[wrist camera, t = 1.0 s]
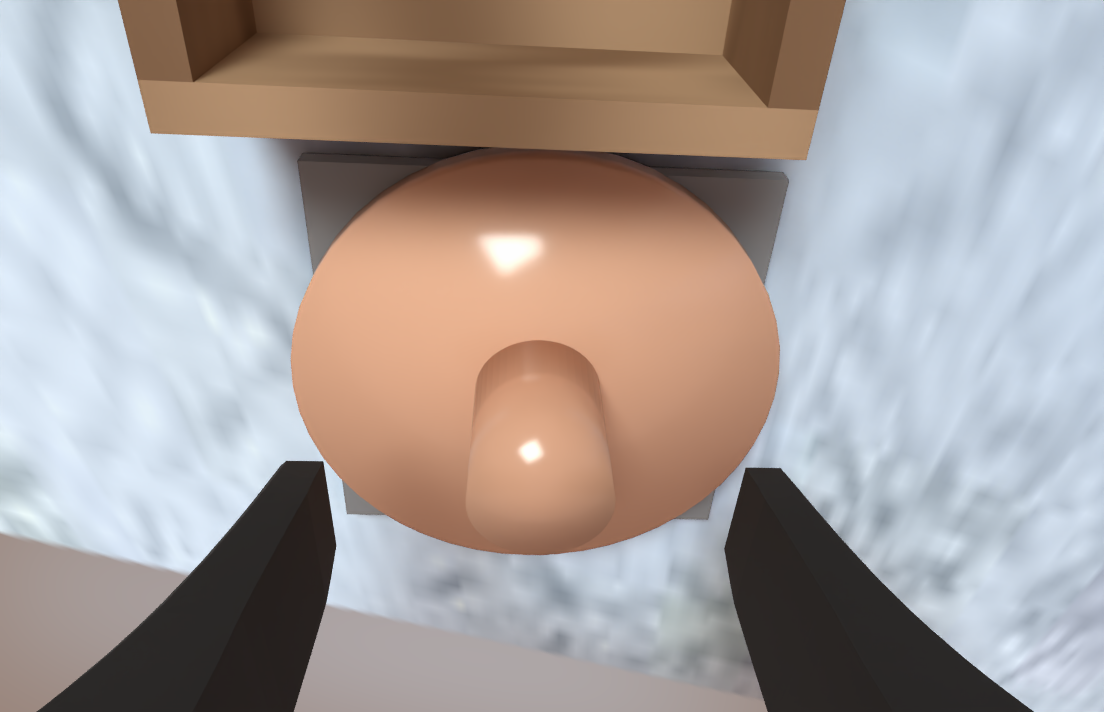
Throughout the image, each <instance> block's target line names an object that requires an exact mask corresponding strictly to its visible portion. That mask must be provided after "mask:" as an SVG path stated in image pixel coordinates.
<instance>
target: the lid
mask: <svg viewBox="0 0 1104 712" xmlns="http://www.w3.org/2000/svg"><path fill="white" fill-rule="evenodd" d="M779 355H780V345H779V338H778V330H777V323H776V318H775V315H774V312H773V308H772V305H771V302H770V299H769V295H768V293H767V291H766V289H765V287H764V285H763V283H762V281H761V279H760V277H759V275H758V273H757V271H756V269H755V267H754V265H753V263H752V261H751V259H750V258H749V256H748V254H747V252H746V250H745V249H744V247H743V246H742V244H741V243H740V242H739V240H738V239H737V237H736V236H735V235H734V233H733V232H732V230H731V229H730V228H729V226H728V225H727V224H726V223H725V222H724V221H723V220H722V219H721V218H720V217H719V216H718V215H717V214H716V213H715V212H714V211H713V210H712V209H711V208H710V207H709V206H708V205H707V204H706V203H705V202H703V201H702V200H701V199H699V198H698V197H697V196H695V195H694V194H693V193H691V192H690V191H689V190H687V189H686V188H685V187H683V186H682V185H681V184H679V183H677V182H675V181H673V180H672V179H670V178H668V177H666V176H664V175H663V174H662V173H660V172H658V171H656V170H654V169H652V168H650V167H648V166H645V165H642V164H640V163H637V162H635V161H632V160H629V159H627V158H624V157H622V156H619V155H615V154H610V153H606V152H596V151H572V150H547V149H523V148H499V147H492V148H486V149H479V150H475V151H471V152H468V153H464V154H461V155H457V156H454V157H450V158H447V159H443V160H441V161H438V162H436V163H434V164H432V165H429V166H428V167H426V168H423V169H421V170H419V171H417V172H414V173H412V174H410V175H408V176H407V177H405V178H403V179H402V180H400V181H399V182H397V183H395V184H394V185H392V186H390V187H389V188H387V189H386V190H384V191H382V192H381V193H380V194H379V195H377V196H376V197H375V198H374V199H373V200H371V201H370V202H369V203H368V204H367V205H365V206H364V207H363V208H362V209H361V210H359V211H358V212H357V213H356V214H355V215H354V216H353V217H352V219H351V220H350V221H349V222H348V223H347V224H346V225H345V226H344V228H343V229H342V230H341V231H340V232H339V233H338V234H337V235H336V237H335V238H334V240H333V242H332V243H331V245H330V246H329V248H328V249H327V251H326V252H325V254H324V256H323V257H322V259H321V260H320V262H319V264H318V266H317V269H316V271H315V273H314V275H313V277H312V279H311V282H310V284H309V286H308V288H307V291H306V293H305V295H304V298H303V300H302V302H301V305H300V307H299V311H298V315H297V319H296V323H295V327H294V331H293V338H292V351H291V369H292V380H293V388H294V392H295V396H296V400H297V404H298V408H299V412H300V414H301V416H302V419H303V421H304V423H305V426H306V428H307V430H308V433H309V435H310V437H311V438H312V440H313V442H314V443H315V445H316V447H317V448H318V450H319V451H320V453H321V455H322V456H323V458H324V459H325V460H326V461H327V463H328V464H329V465H330V466H331V468H332V469H333V470H334V471H335V472H336V474H337V475H338V476H339V477H340V478H341V479H342V480H343V481H344V482H345V483H346V484H347V485H348V486H349V487H350V488H351V489H352V490H353V491H354V492H355V493H357V494H358V495H359V496H360V497H361V498H363V499H364V500H365V501H367V502H368V503H369V504H371V505H372V506H373V507H375V508H376V509H377V510H379V511H381V512H382V513H384V514H386V515H387V516H389V517H391V518H392V519H394V520H396V521H398V522H399V523H401V524H403V525H405V526H407V527H410V528H412V529H414V530H416V531H418V532H420V533H423V534H425V535H428V536H431V537H433V538H436V539H439V540H442V541H445V542H448V543H451V544H455V545H459V546H464V547H468V548H472V549H476V550H483V551H490V552H497V553H505V554H523V555H548V554H560V553H568V552H576V551H584V550H588V549H593V548H598V547H602V546H607V545H611V544H614V543H617V542H620V541H623V540H627V539H630V538H633V537H636V536H638V535H640V534H643V533H645V532H647V531H650V530H652V529H655V528H657V527H659V526H661V525H663V524H665V523H666V522H668V521H670V520H672V519H674V518H676V517H678V516H679V515H681V514H683V513H684V512H686V511H687V510H689V509H690V508H691V507H693V506H694V505H696V504H697V503H699V502H700V501H702V500H703V499H704V498H705V497H707V496H708V495H709V494H710V493H711V492H712V491H714V490H715V489H716V488H717V487H718V486H719V485H721V484H722V483H723V482H724V480H725V479H726V478H727V477H728V476H729V475H730V474H731V473H732V472H733V471H734V470H735V469H736V467H737V466H738V465H739V464H740V463H741V461H742V460H743V458H744V457H745V456H746V454H747V453H748V451H749V450H750V449H751V447H752V446H753V444H754V443H755V441H756V439H757V437H758V435H759V433H760V431H761V429H762V428H763V426H764V424H765V422H766V419H767V416H768V414H769V411H770V408H771V405H772V402H773V400H774V396H775V391H776V385H777V380H778V375H779Z"/></svg>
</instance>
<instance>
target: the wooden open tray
mask: <svg viewBox="0 0 1104 712" xmlns="http://www.w3.org/2000/svg"><path fill="white" fill-rule="evenodd" d="M845 2H846V0H118V3H119V7H120V11H121V15H122V19H123V23H124V27H125V31H126V35H127V39H128V43H129V47H130V51H131V55H132V59H133V63H134V67H135V71H136V75H137V79H138V83H139V88H140V92H141V96H142V100H143V104H144V108H145V112H146V116H147V120H148V124H149V128H150V132H151V133H158V134H182V135H207V136H231V137H255V138H280V139H304V140H328V141H353V142H377V143H401V144H426V145H450V146H474V147H499V148H523V149H547V150H572V151H596V152H620V153H645V154H669V155H693V156H718V157H742V158H766V159H791V160H806V158H807V154H808V150H809V146H810V142H811V138H812V134H813V130H814V126H815V122H816V118H817V114H818V110H819V106H820V102H821V98H822V94H823V90H824V86H825V82H826V78H827V74H828V70H829V66H830V62H831V58H832V54H833V50H834V46H835V42H836V38H837V34H838V30H839V26H840V22H841V18H842V14H843V10H844V6H845Z"/></svg>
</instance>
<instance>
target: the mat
mask: <svg viewBox="0 0 1104 712" xmlns="http://www.w3.org/2000/svg"><path fill="white" fill-rule="evenodd" d="M441 160H443V159H437V158H412V157H387V156H362V155H337V154H312V153H302V155H301V156H300V158H299V159H298V161H297V162H298V169H299V176H300V183H301V190H302V197H303V204H304V211H305V219H306V226H307V233H308V240H309V247H310V254H311V261H312V268H313V275H314V273H315V271H316V269H317V266H318V264H319V262H320V260H321V259H322V257H323V256H324V254H325V252H326V251H327V249H328V248H329V246H330V245H331V243H332V242H333V240H334V238H335V237H336V235H337V234H338V233H339V232H340V231H341V230H342V229H343V228H344V226H345V225H346V224H347V223H348V222H349V221H350V220H351V219H352V217H353V216H354V215H355V214H356V213H357V212H358V211H359V210H361V209H362V208H363V207H364V206H365V205H367V204H368V203H369V202H370V201H371V200H373V199H374V198H375V197H376V196H377V195H379V194H380V193H381V192H382V191H384V190H386V189H387V188H389V187H390V186H392V185H394V184H395V183H397V182H399V181H400V180H402V179H403V178H405V177H407V176H408V175H410V174H412V173H414V172H417V171H419V170H421V169H423V168H426V167H428V166H429V165H432V164H434V163H436V162H438V161H441ZM650 168H652V169H654V170H656V171H658V172H660V173H662V174H663V175H664V176H666V177H668V178H670V179H672V180H673V181H675V182H677V183H679V184H681V185H682V186H683V187H685V188H686V189H687V190H689V191H690V192H691V193H693V194H694V195H695V196H697V197H698V198H699V199H701V200H702V201H703V202H705V203H706V204H707V205H708V206H709V207H710V208H711V209H712V210H713V211H714V212H715V213H716V214H717V215H718V216H719V217H720V218H721V219H722V220H723V221H724V222H725V223H726V224H727V225H728V226H729V228H730V229H731V230H732V232H733V233H734V235H735V236H736V237H737V239H738V240H739V242H740V243H741V244H742V246H743V247H744V249H745V250H746V252H747V254H748V256H749V258H750V259H751V261H752V263H753V265H754V267H755V269H756V271H757V273H758V275H759V277H760V279H761V281H762V283H763V285H764V283H765V279H766V275H767V270H768V266H769V262H770V258H771V254H772V249H773V245H774V241H775V237H776V233H777V229H778V224H779V220H780V216H781V212H782V208H783V204H784V199H785V195H786V191H787V187H788V183H789V180H788V178H787V177H786V176H785V174H784V173H783V172H761V171H736V170H711V169H686V168H661V167H650ZM342 482H343V489H344V496H345V503H346V511H347V514H374V515H386V514H384V513H382V512H381V511H379V510H377V509H376V508H375V507H373V506H372V505H371V504H369V503H368V502H367V501H365V500H364V499H363V498H361V497H360V496H359V495H358V494H357V493H355V492H354V491H353V490H352V489H351V488H350V487H349V486H348V485H347V484H346V483H345V482H344V481H343V480H342ZM714 492H715V490H714V491H712V492H711V493H710V494H709V495H708V496H707V497H705V498H704V499H703V500H702V501H700V502H699V503H697V504H696V505H694V506H693V507H691V508H690V509H689V510H687V511H686V512H684V513H683V514H681V515H679V516H678V517H676V518H674V519H707V520H708V517H709V512H710V508H711V504H712V500H713V496H714Z"/></svg>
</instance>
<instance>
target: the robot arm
mask: <svg viewBox="0 0 1104 712" xmlns="http://www.w3.org/2000/svg"><path fill="white" fill-rule="evenodd" d="M724 549H725V555H726V561H727V567H728V573H729V579H730V584H731V589H732V594H733V600H734V604H735V608H736V611H737V615H738V618H739V621H740V624H741V628H742V631H743V634H744V637H745V641H746V644H747V647H748V650H749V654H750V657H751V660H752V663H753V666H754V669H755V673H756V676H757V679H758V682H759V685H760V689H761V692H762V695H763V698H764V701H765V704H766V707H767V711H768V712H1034V711H1032V710H1031V709H1029V708H1028V707H1027V706H1025V705H1024V704H1023V703H1021V702H1020V701H1019V700H1017V699H1016V698H1015V697H1013V696H1012V695H1011V694H1009V693H1008V692H1007V691H1005V690H1004V689H1003V688H1002V687H1000V686H999V685H998V684H996V683H995V682H994V681H992V680H991V679H990V678H988V677H987V676H986V675H985V674H983V673H982V672H981V671H980V670H978V669H977V668H976V667H975V666H973V665H972V664H971V663H970V662H968V661H967V660H966V659H965V658H964V657H962V656H961V655H960V654H959V653H958V652H957V651H955V650H954V649H953V648H952V647H951V646H950V645H948V644H947V643H946V642H945V641H944V640H943V639H942V638H940V637H939V636H938V635H937V634H936V633H935V632H933V631H932V630H931V629H930V628H929V627H928V626H927V625H926V624H924V623H923V622H922V621H921V620H920V619H919V618H918V617H917V616H916V615H915V614H914V613H913V612H911V611H910V610H909V609H908V608H907V607H906V606H905V605H904V604H903V603H902V602H901V601H900V600H899V599H898V598H897V597H896V596H895V595H894V594H893V593H892V592H891V591H890V590H889V589H888V588H887V587H886V586H885V585H884V584H883V583H882V582H881V581H880V580H879V579H878V578H877V577H876V576H875V575H874V574H873V573H872V572H871V571H870V570H869V568H868V567H867V566H866V565H865V564H864V563H863V562H862V561H861V560H860V559H859V558H858V556H857V555H856V554H855V553H854V552H853V551H852V550H851V549H850V548H849V547H848V546H847V545H846V543H845V542H844V541H843V540H842V539H841V538H840V537H839V536H838V534H837V533H836V532H835V531H834V530H833V529H832V528H831V526H830V525H829V524H828V523H827V522H826V521H825V520H824V518H823V517H822V516H821V515H820V514H819V513H818V511H817V510H816V509H815V508H814V507H813V506H812V504H811V503H810V502H809V501H808V500H807V499H806V497H805V496H804V495H803V494H802V493H801V491H800V490H799V489H798V488H797V487H796V486H795V484H794V483H793V482H792V481H791V480H790V479H789V477H788V476H787V475H786V474H785V473H784V472H783V471H782V469H781V468H746V469H745V473H744V477H743V480H742V484H741V488H740V492H739V495H738V499H737V503H736V507H735V511H734V514H733V518H732V522H731V526H730V529H729V533H728V537H727V541H726V545H725V548H724ZM335 550H336V540H335V534H334V527H333V521H332V514H331V508H330V502H329V495H328V489H327V482H326V476H325V470H324V463H323V461H286V462H285V463H283V464H282V465H281V466H280V467H279V469H278V470H277V471H276V472H275V474H274V475H273V476H272V478H271V479H270V480H269V481H268V483H267V484H266V485H265V487H264V488H263V489H262V490H261V492H260V493H259V494H258V496H257V497H256V498H255V499H254V501H253V502H252V503H251V504H250V506H249V507H248V508H247V509H246V510H245V512H244V513H243V514H242V515H241V517H240V518H239V519H238V520H237V521H236V523H235V524H234V525H233V526H232V527H231V528H230V530H229V531H228V532H227V533H226V534H225V535H224V537H223V538H222V539H221V540H220V541H219V542H218V544H217V545H216V546H215V547H214V548H213V549H212V550H211V552H210V553H209V554H208V555H207V556H206V557H205V558H204V560H203V561H202V562H201V563H200V564H199V565H198V566H197V567H196V568H195V569H194V570H193V571H192V572H191V573H190V575H189V576H188V577H187V578H186V579H185V580H184V581H183V582H182V583H181V584H180V585H179V586H178V587H177V588H176V589H175V590H174V591H173V592H172V593H171V595H170V596H169V597H168V598H167V599H166V600H165V601H164V602H163V603H162V604H161V605H160V606H159V607H158V608H157V609H156V610H155V611H154V612H153V613H151V615H150V616H148V617H147V619H145V621H143V622H142V623H141V624H140V625H139V626H138V627H137V628H136V629H135V630H134V631H133V632H131V634H129V635H128V636H127V637H126V638H125V639H124V640H123V641H122V642H120V643H119V644H118V645H117V646H116V647H115V648H114V649H113V650H112V651H111V652H109V653H108V654H107V655H106V656H105V657H104V658H102V659H101V660H100V661H99V662H98V663H96V664H95V665H94V666H93V667H92V668H90V669H89V670H88V671H87V672H86V673H84V674H83V675H82V676H81V677H80V678H78V679H77V680H76V681H75V682H74V683H72V684H71V685H70V686H69V687H68V688H66V689H65V690H64V691H63V692H61V693H60V694H59V695H58V696H56V697H55V698H54V699H53V700H51V701H50V702H49V703H47V704H46V705H45V706H44V707H43V708H41V709H40V710H38V711H37V712H294V708H295V705H296V702H297V699H298V695H299V692H300V689H301V685H302V682H303V679H304V675H305V672H306V669H307V665H308V662H309V659H310V656H311V652H312V649H313V646H314V643H315V639H316V635H317V632H318V629H319V626H320V622H321V619H322V615H323V612H324V609H325V605H326V602H327V596H328V591H329V585H330V580H331V574H332V568H333V562H334V556H335Z"/></svg>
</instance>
